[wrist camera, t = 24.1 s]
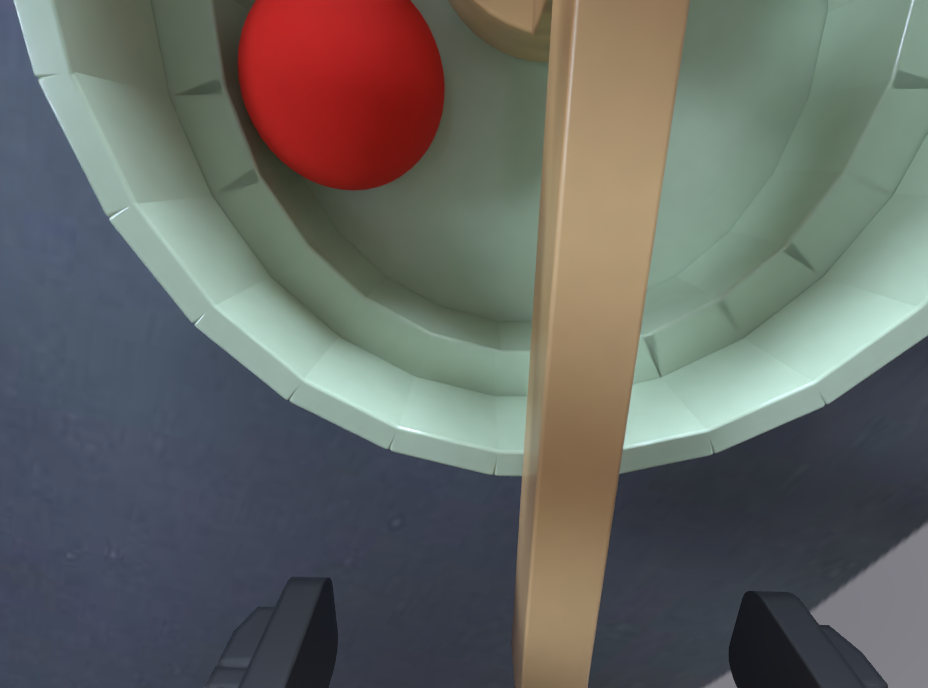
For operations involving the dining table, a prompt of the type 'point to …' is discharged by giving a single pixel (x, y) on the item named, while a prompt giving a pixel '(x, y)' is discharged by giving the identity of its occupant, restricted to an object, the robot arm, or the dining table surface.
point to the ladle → (583, 295)
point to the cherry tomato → (342, 87)
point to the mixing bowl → (523, 221)
